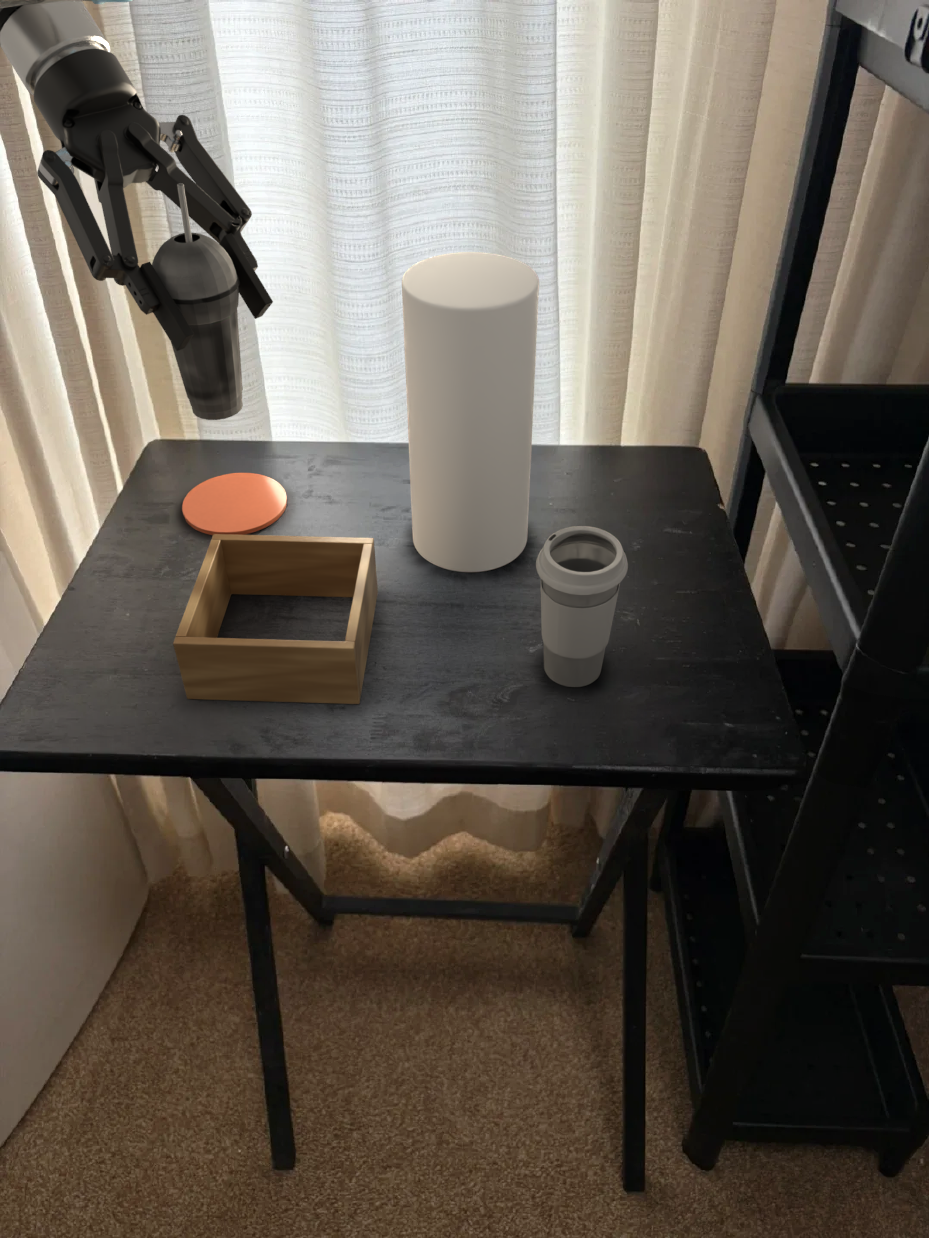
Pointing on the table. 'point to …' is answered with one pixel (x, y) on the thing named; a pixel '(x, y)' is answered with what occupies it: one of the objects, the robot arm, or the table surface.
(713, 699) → the table surface
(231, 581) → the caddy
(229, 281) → the beverage cup
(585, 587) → the cup
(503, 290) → the tall pillar cylinder
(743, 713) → the table surface
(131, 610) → the table surface
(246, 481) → the coaster
